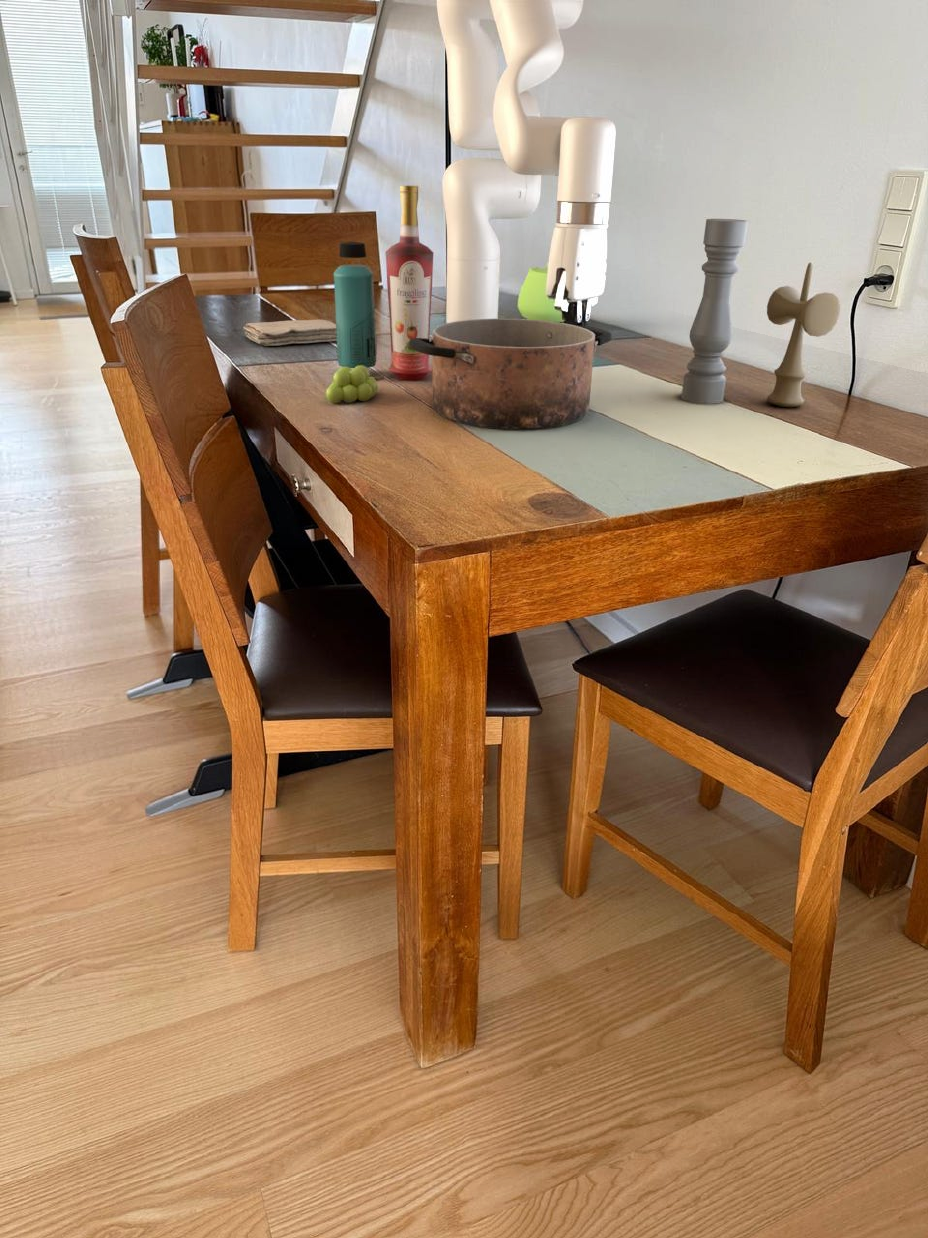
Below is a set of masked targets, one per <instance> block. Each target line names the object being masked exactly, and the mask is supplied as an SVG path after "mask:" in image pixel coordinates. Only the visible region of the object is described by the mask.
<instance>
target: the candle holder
mask: <svg viewBox="0 0 928 1238" xmlns="http://www.w3.org/2000/svg"><path fill="white" fill-rule="evenodd" d="M748 224H749V221H748V220H746V219H735V218H734V219H733V218H732V219H731V218H706V219H705V228H704V235H703V242H702V243H703V245H704V248H703V249H704V252H705V254H706V255H705V256H706V258H707V261H706V262H704V263H703V264H702V265H701V271H703V273H704V282H703V283H704V284H703V291H702V297H701V300H700V303H699V306H698V309H697V311H696V314H695V317H694V320H693V322H692V324H691V327H690V331H689V341H690V344H691V346H692V348H693V351H692V353H693V355H694V357H692V358H691V359H690V362H688V363H687V365H686V369H687V371H688V372H686V373H685V374H683V381H682V389H681V396H680V397H681V399H682V400H683V401H686V402H688V403H693V404H702V405H713V404H715V405H716V404H720V403H722V402H723V401H724V396H725V395H724V394H725V388H726V381H727V378H726V376H725V375H723V374H724V373H726V370H727V366H726V365H725V364H724V361H723V359H722V357H723V356H724V355H725V354H724V352H725V350H727V348H728V347H729V346H730V345H731V342H732V341H733V340H732V339H733V325H732V324H733V323H732V311H731V294H732V286H733V279H734V277H735V275H736V274H737V273H738V272H739V271H740V266H739V265H738V264H737V263H736V260H737V259H738V257H739V255H740V254H741V253H742V250H743V247H744V246H745V244H746V238H747V237H746V236H747V231H748Z"/></svg>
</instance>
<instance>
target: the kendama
mask: <svg viewBox="0 0 928 1238" xmlns="http://www.w3.org/2000/svg"><path fill="white" fill-rule="evenodd" d="M812 272H813V263H812V262H808V264H807V267H806V269H805V273H804V278H803V282H802V288H801V292H800V291H799V290H798V289H796V288H795V287H794V286H790V285H785V286H779V287H778V288H776V289H775V290H773V291H772V293H771V294H770V297H769V299H768V301H767V304H766V315H767V318H768V320H769V322H771V323H772V324H773V325H777V326H782V325H787V324H789V323H791V322H792V321H794V323H793V327H792V331H791V335H790V338H789V341H788V344H787V347H786V349H785V353H784V356H783V359H782V361H781V363H780V365H779V366H778V368H776V369H775V370H774V371H773V373H774V376H775V378H776V380H775V384H774V389H773V391H772V392H770V394H768V396H767V398H766V399H767V401H768V403H770V404H771V405H774V406H777V407H785V408H795V407H800V406H802V405H803V404H804V403H805V399H804V398H803V397H802V390H801V389H802V383H803V381H804V379H805V378H806V377H807V373H806V372H805V370H804V367H803V343H804V332H805V333H806V334H808V335H809V336H811V337H816V338H819V337H823V336H826V335H828V334H829V333H831V331H833V329H834V328H835V327H836V325H837V323H838V320H839V317H840V314H841V303H840V299H839V297H838V296H837V295H835V294H834V293H832V292H829V291H824V292H820V293H817V294H815V295H813V296H812V297H811V298H809V293H810V288H811V287H810V286H811V280H812ZM808 298H809V299H808Z"/></svg>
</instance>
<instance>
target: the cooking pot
mask: <svg viewBox="0 0 928 1238" xmlns="http://www.w3.org/2000/svg"><path fill="white" fill-rule="evenodd" d="M612 337H613V334H612V333H611V332H610V331H609V330H606V329H602V328H599V327H596V326H589V325H587V326H574V325H570V324H564V323H563V322H559V323H558V322H551V321H541V320H528V319H527V318H498V319H474V320H463V321H456V322H450V323H446V322H445V323H443V324H439V325H437V326H435V327H434V328H433V329H432V339H430V338H429V339H426V338H412V339H410V344H409V346H410V348H412V349H413V350H416V351H418V352H421V353H424V354H428V355H429V356H432V407H433V408H434V410H435V411H436V412H437V413H438V415H440V416H441V417H442V418H445V419H447V420H449V421H451V422H456V423H459V424H461V425H467V426H471V427H476V428H477V427H478V428H484V429H495V430H509V431H510V430H513V431H525V430H526V431H527V430H528V431H529V430H530V431H531V430H532V431H533V430H544V429H554V428H560V427H563V426H568V425H571V424H575V423H577V422H579V421H581V420H582V419H583V418H584V417H585V416H586V415H587V414H588V413H589V409H590V403H591V393H592V392H591V391H592V390H591V389H592V380H593V379H592V378H593V366H594V365H593V364H594V354H595V353H596V351H597V350H598V346H599V347H601V346H603V345H605V344H607V343H609V342H611V341H612Z"/></svg>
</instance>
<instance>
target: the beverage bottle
mask: <svg viewBox="0 0 928 1238" xmlns="http://www.w3.org/2000/svg"><path fill="white" fill-rule="evenodd" d="M338 257H339V258H346V259H360V258H361V259H363V258H367V252H366V244H365V243H364V242H359V241H345V242H344V241H343V242H340V243H339V251H338ZM332 275H333V282H334V283H333V284H334V285H333V287H334V307H335V309H334V310H335V321H334V324H336V329H335V330H336V334H335V335H336V336H337V341H335V343H336V344H335V346H336V347H335V349H336V353H335V354H336V358H337V359H336V361H337V363H338V366H339V367H340V368H341V367H344V366H346V367H349V368H351V369H354V368H355V367H356V366H359V365H362V366H365V367H366V368H367V369H369V368H373V367H375V366H376V364H377V361H378V356H377V354H378V353H377V352H378V351H377V347H378V346H377V342H378V341H376V323H377V321H376V312H375V311H376V307H375V299H376V297H375V289H374V286H375V285H374V272H373V271H372V270H371V268H369V266H367V265H365V264H341V265H339V266H338V267H337V268H336V269H335V270H334V272H333V274H332Z"/></svg>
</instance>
